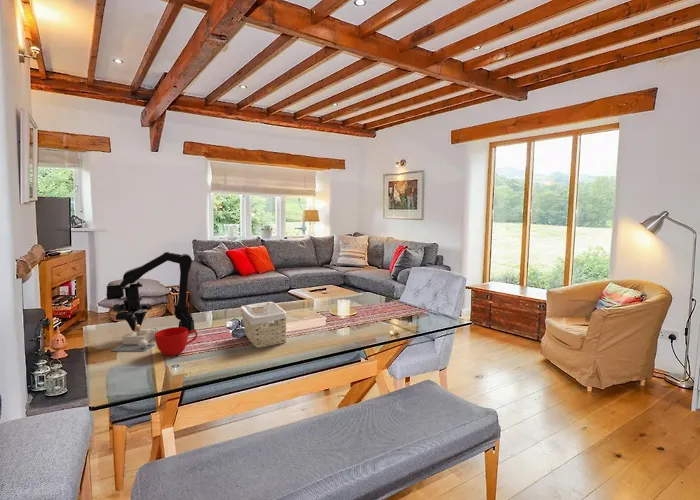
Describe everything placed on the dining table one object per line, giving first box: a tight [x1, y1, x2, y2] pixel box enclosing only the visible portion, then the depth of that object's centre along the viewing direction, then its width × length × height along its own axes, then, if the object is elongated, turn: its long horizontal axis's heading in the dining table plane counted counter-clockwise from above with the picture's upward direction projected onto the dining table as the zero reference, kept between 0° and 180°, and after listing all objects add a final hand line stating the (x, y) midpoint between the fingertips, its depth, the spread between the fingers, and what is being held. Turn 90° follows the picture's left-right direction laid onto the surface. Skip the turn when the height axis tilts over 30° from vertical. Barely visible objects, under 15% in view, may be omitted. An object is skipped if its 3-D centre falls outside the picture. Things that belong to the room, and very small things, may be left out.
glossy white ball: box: [138, 339, 149, 349], centre depth 185 cm, size 4×4×4 cm
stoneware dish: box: [121, 328, 159, 344], centre depth 197 cm, size 11×11×4 cm
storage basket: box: [240, 301, 288, 349], centre depth 191 cm, size 24×16×15 cm
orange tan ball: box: [131, 323, 142, 332], centre depth 197 cm, size 4×4×4 cm
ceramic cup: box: [154, 326, 199, 357], centre depth 178 cm, size 13×17×10 cm
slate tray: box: [111, 343, 156, 353], centre depth 186 cm, size 16×8×1 cm, turn 82°
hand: (136, 328), depth 197 cm, fingers closed on orange tan ball, 4 cm apart
